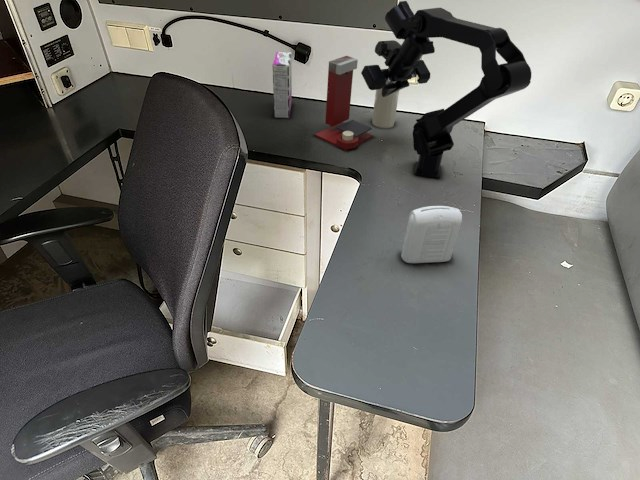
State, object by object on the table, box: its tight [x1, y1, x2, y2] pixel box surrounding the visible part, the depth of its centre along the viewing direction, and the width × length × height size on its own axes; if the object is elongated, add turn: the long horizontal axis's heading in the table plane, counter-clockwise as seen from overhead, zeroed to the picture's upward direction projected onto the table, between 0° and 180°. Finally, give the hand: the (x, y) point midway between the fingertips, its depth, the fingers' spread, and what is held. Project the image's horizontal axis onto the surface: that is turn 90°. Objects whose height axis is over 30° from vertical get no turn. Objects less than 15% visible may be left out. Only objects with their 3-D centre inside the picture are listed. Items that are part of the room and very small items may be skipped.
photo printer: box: [400, 205, 463, 264], centre depth 93 cm, size 10×4×12 cm, turn 98°
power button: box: [342, 131, 353, 141], centre depth 130 cm, size 3×3×2 cm
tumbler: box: [371, 88, 400, 129], centre depth 140 cm, size 7×7×13 cm
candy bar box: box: [272, 51, 293, 119], centre depth 143 cm, size 11×5×16 cm, turn 179°
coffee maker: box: [314, 122, 374, 152], centre depth 135 cm, size 13×13×2 cm
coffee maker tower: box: [325, 55, 373, 137], centre depth 130 cm, size 12×7×18 cm, turn 48°
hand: (383, 95), depth 129 cm, fingers closed
